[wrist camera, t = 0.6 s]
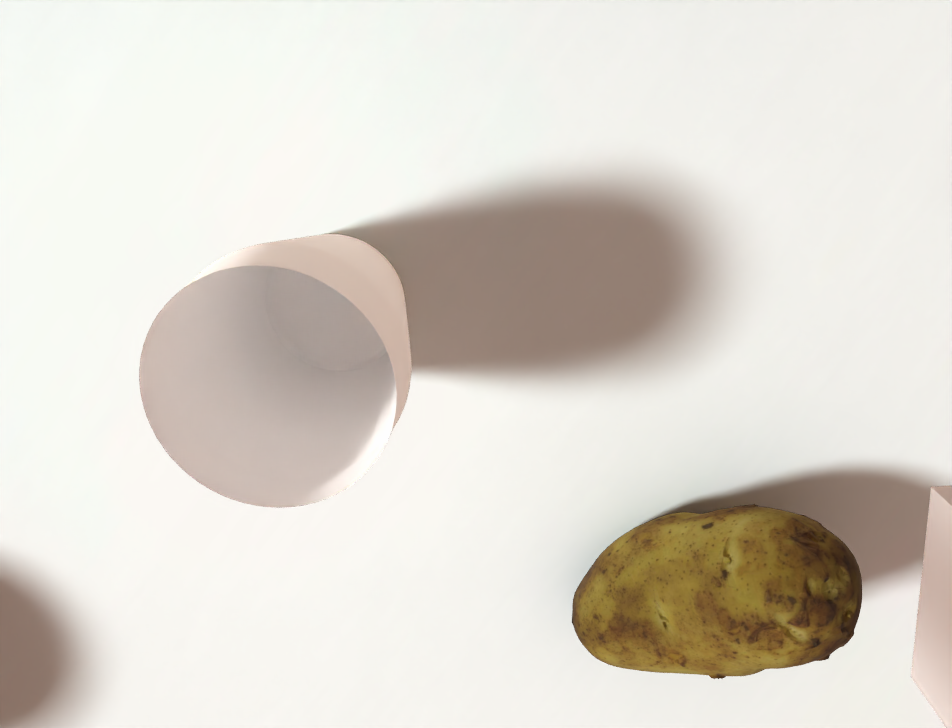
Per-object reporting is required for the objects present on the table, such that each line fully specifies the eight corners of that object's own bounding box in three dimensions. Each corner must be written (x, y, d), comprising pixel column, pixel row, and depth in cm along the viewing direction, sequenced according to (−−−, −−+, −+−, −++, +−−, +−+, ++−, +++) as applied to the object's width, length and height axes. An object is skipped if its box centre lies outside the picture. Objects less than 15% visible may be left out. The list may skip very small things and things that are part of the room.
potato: (557, 489, 42) (569, 579, 34) (816, 464, 41) (887, 550, 33) (571, 627, 44) (586, 739, 37) (815, 606, 43) (881, 716, 36)
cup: (394, 181, 37) (347, 223, 26) (456, 363, 40) (437, 474, 28) (211, 240, 38) (87, 305, 27) (283, 413, 41) (198, 539, 29)
